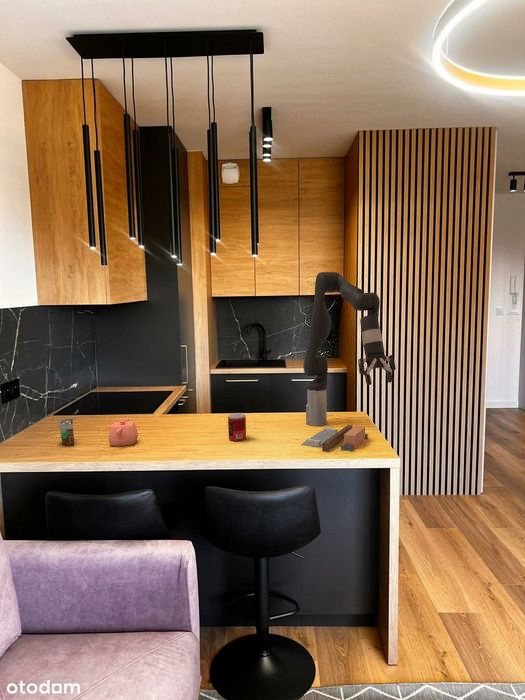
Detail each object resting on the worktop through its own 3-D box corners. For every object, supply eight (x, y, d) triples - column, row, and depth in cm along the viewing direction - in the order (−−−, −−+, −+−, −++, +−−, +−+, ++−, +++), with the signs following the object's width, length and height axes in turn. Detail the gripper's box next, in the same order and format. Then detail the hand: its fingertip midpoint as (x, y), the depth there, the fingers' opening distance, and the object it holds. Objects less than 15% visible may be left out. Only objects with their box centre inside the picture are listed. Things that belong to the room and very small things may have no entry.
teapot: (105, 449, 219) (103, 426, 217) (116, 437, 237) (115, 415, 235) (132, 449, 219) (131, 425, 218) (141, 436, 237) (140, 414, 235)
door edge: (322, 451, 210) (322, 443, 209) (348, 432, 236) (348, 424, 235) (326, 452, 209) (326, 443, 208) (352, 432, 235) (352, 425, 234)
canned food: (249, 438, 230) (248, 414, 229) (239, 442, 224) (239, 418, 222) (235, 435, 234) (234, 412, 233) (225, 440, 228) (224, 416, 226)
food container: (59, 440, 234) (57, 419, 232) (74, 438, 236) (72, 417, 234) (59, 448, 222) (57, 426, 221) (74, 446, 224) (72, 424, 223)
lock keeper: (301, 444, 219) (301, 439, 219) (321, 431, 238) (321, 426, 238) (322, 448, 214) (322, 442, 214) (341, 434, 233) (341, 429, 233)
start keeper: (340, 449, 211) (340, 445, 211) (357, 436, 228) (357, 432, 228) (352, 451, 209) (352, 446, 208) (367, 438, 226) (367, 433, 226)
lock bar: (344, 448, 214) (343, 434, 213) (355, 439, 226) (355, 425, 225) (354, 449, 211) (354, 435, 211) (365, 440, 224) (365, 427, 223)
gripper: (385, 342, 204) (392, 383, 202) (352, 345, 201) (358, 386, 198) (393, 338, 197) (401, 380, 194) (359, 341, 194) (366, 384, 191)
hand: (379, 383), depth 196 cm, fingers open, 8 cm apart
